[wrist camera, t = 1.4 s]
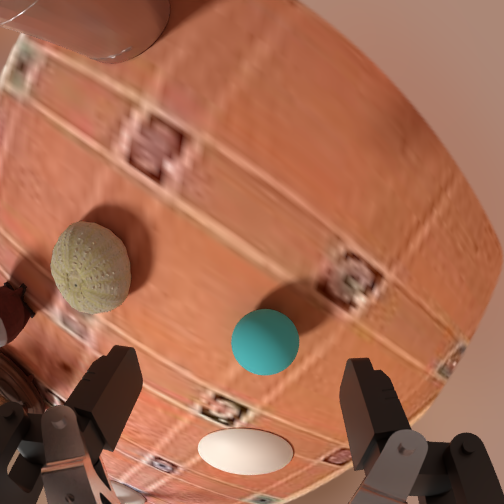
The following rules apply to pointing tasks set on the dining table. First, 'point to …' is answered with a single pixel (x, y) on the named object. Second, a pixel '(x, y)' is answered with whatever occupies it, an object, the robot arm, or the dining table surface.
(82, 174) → the dining table surface
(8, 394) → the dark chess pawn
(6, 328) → the mate gourd
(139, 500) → the candlestick
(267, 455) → the white disc
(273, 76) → the dining table surface
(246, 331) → the ball
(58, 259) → the sea urchin shell
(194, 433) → the dining table surface
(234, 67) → the dining table surface
